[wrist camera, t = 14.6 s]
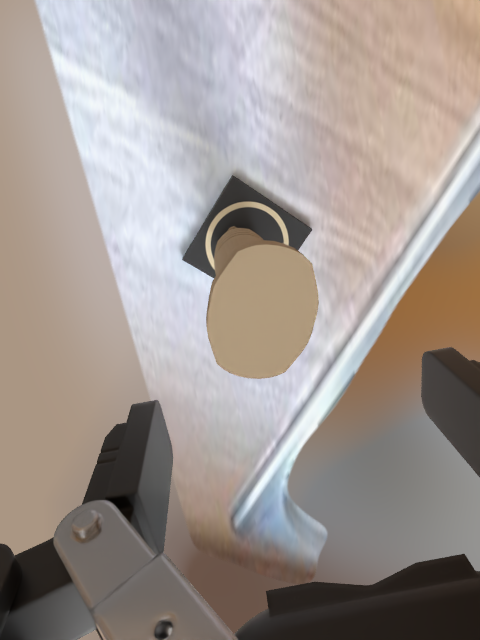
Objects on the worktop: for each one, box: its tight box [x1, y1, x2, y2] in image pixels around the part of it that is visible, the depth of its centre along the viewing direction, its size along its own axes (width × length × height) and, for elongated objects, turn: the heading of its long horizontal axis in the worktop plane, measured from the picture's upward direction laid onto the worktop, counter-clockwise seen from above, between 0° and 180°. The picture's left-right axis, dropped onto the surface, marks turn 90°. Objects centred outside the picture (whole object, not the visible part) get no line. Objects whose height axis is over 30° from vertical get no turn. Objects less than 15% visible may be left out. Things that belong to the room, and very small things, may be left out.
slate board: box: [182, 175, 312, 278], centre depth 32 cm, size 8×8×1 cm
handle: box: [206, 226, 319, 379], centre depth 25 cm, size 5×6×15 cm
